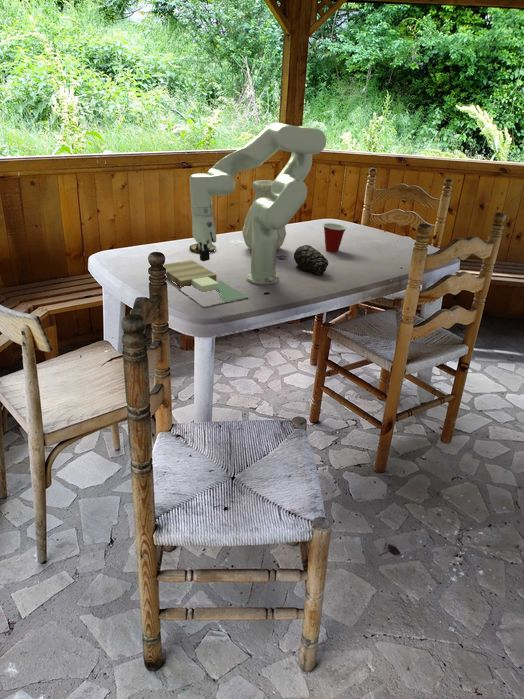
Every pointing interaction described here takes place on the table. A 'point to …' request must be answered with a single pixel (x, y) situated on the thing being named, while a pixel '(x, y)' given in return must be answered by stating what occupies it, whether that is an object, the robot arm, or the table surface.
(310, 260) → the pine cone
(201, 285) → the tile
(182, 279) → the wooden board
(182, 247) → the table surface
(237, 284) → the table surface
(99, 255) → the table surface
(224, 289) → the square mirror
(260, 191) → the vase
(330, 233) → the plastic cup
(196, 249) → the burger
